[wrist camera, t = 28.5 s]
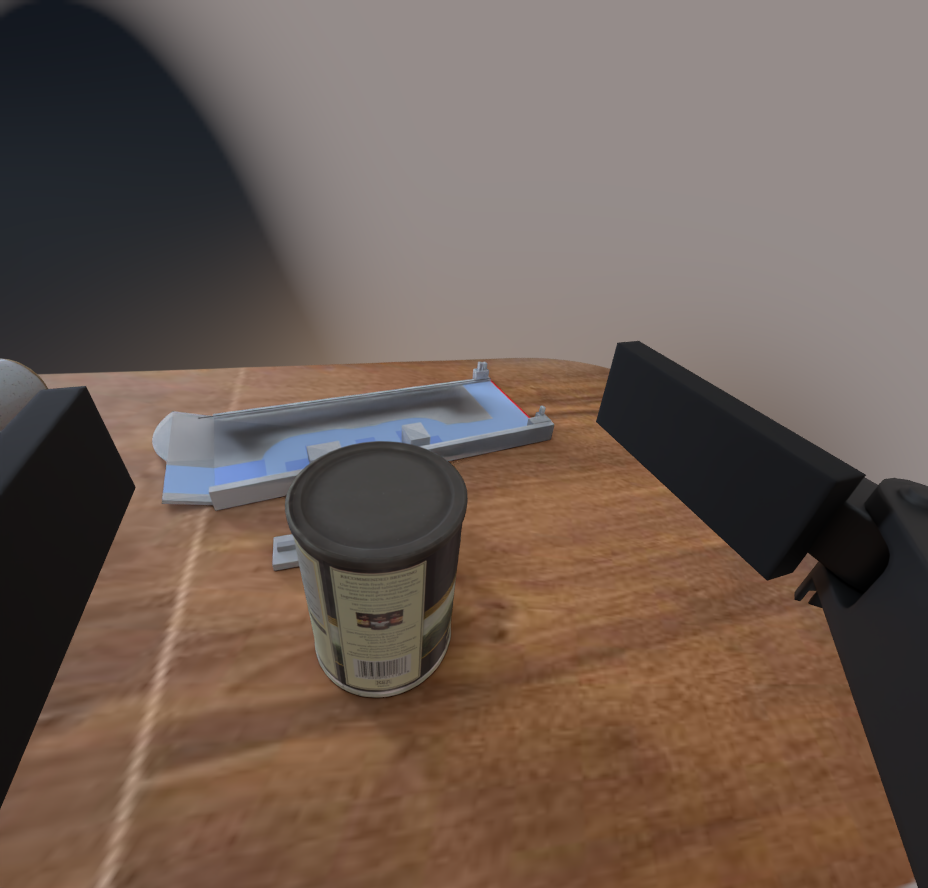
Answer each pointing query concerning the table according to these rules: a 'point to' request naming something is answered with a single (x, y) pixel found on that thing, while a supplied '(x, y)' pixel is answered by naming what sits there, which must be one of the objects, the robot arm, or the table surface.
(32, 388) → the ceramic mug
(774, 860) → the table surface
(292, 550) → the green peeler
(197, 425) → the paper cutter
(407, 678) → the coffee can
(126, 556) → the table surface
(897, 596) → the robot arm
